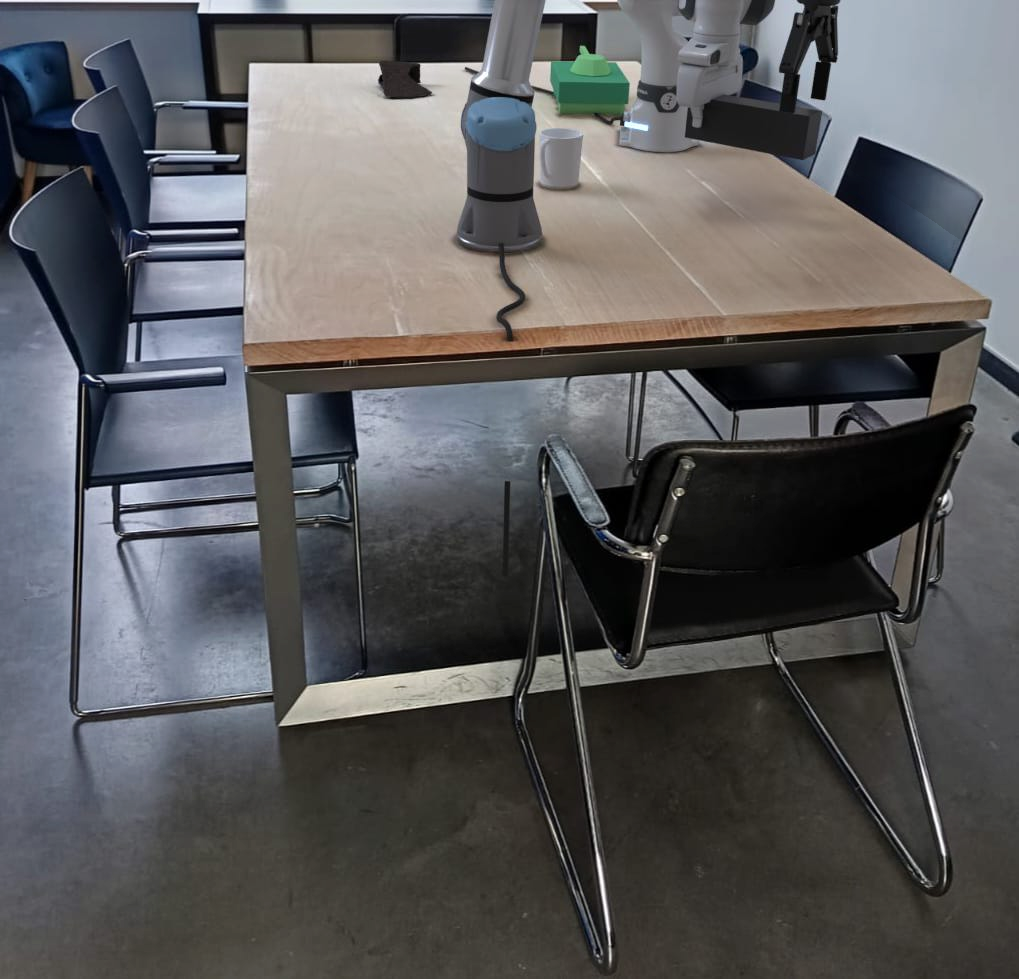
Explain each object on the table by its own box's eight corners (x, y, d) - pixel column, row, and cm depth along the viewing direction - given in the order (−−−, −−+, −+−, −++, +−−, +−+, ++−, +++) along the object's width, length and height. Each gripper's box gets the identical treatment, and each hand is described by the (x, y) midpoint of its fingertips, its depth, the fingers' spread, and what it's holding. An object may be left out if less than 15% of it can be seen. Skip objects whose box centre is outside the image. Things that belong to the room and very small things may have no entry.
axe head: (443, 87, 294) (392, 77, 287) (436, 115, 299) (385, 106, 292) (421, 62, 307) (371, 52, 300) (414, 89, 311) (365, 80, 304)
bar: (815, 154, 207) (822, 110, 202) (802, 160, 203) (809, 116, 199) (698, 132, 219) (702, 90, 215) (684, 137, 215) (688, 95, 211)
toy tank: (613, 42, 301) (631, 67, 272) (609, 89, 308) (626, 118, 278) (549, 41, 300) (560, 66, 271) (547, 88, 307) (557, 117, 277)
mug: (554, 175, 232) (556, 125, 226) (589, 183, 227) (592, 132, 222) (522, 186, 224) (523, 135, 219) (557, 195, 220) (559, 142, 214)
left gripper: (829, -29, 201) (811, 91, 212) (770, -16, 184) (753, 114, 195) (869, -26, 197) (848, 96, 208) (812, -12, 180) (793, 120, 191)
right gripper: (725, 39, 216) (717, 111, 223) (673, 53, 202) (666, 130, 209) (754, 43, 213) (745, 116, 220) (704, 58, 199) (695, 135, 206)
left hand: (802, 105), depth 201 cm, fingers open, 13 cm apart
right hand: (706, 123), depth 214 cm, fingers closed on bar, 5 cm apart
